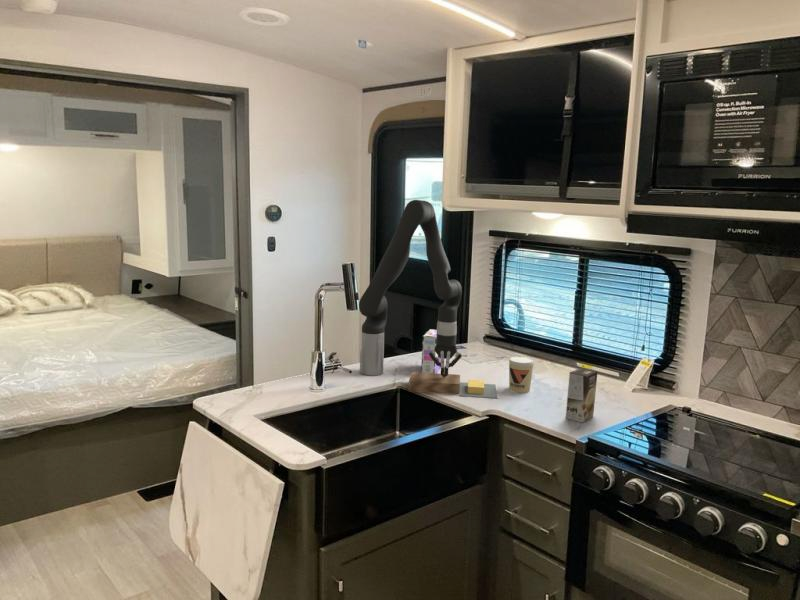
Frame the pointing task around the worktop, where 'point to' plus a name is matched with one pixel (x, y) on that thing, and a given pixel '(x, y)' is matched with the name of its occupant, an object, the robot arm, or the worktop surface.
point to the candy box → (428, 346)
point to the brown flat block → (434, 383)
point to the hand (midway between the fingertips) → (444, 376)
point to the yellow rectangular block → (476, 386)
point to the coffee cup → (520, 374)
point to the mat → (488, 393)
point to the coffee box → (581, 394)
